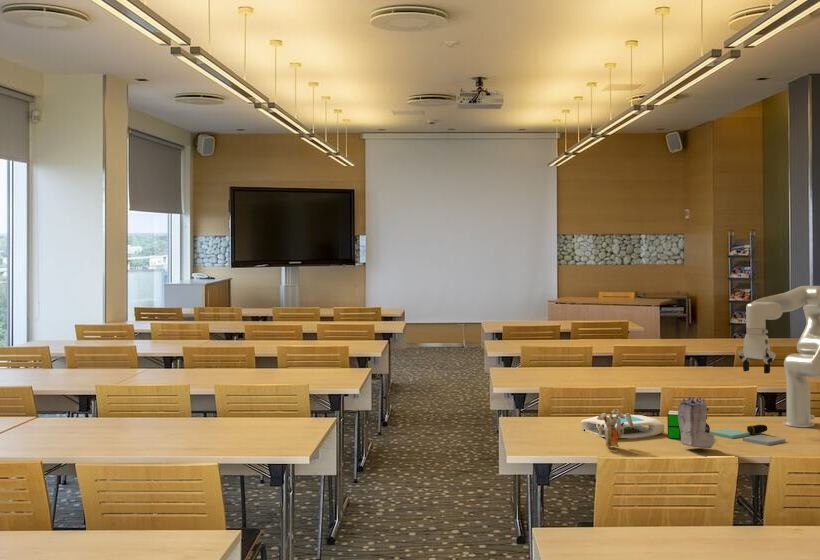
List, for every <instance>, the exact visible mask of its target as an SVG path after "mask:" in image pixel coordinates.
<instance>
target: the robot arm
mask: <svg viewBox="0 0 820 560" xmlns="http://www.w3.org/2000/svg"><path fill="white" fill-rule="evenodd" d="M802 307H803V308H802ZM800 308H802V309H803V313H804V317H805V323H806V324H805V327H804V330H803V332H802V333H801V336H800V337H799V339H798V341H797V343H796V351H797V352H798V353H790V354H788V355H786V356H785V358H784V361H783V367H784V373H785V379H786V380H785V381H786V384H785V385H786V420H783V421H782V424H783V425H785V426H788V427H793V428H813V427H815V423H814V422H812V420H815V418H816V416H815V415H814V414H811V384H810V382H809V380H808V378H809V377H810V378H820V285H801V286H797V287H796V288H793V289H790V290H788V291H786V292H783V293H778V294H773V295H769V296H764V297H761V298H758V299H756V300H753V301H752V302H750V303H747V304H746V306H745V310H746V311H745V313H746V314H745V317H746V322H745V324H746V325H745V326H746V334H745V335H744V339H743V348H741V349H739V350H737V353H736V354H737V355H738V357H739V359H740V360H741V362H742V369H743V372H749V371H750V362H749V360H750V359H753V360H754V359H755V360H762V361H763V363H764V364H763V373H764V374H770V373H771V364H772V363H773V362H774V361H775V358H776V356H777V354H776V353H775V352H774V351H772V350H771V347H770V346H771V345H770V340H769V336H768V335H767V334H768V333H769V331H768V329H767V328H766V320H769V321H770V320H771V321H773V320H778V319H779V318H781V317H782V315H783V313H788V312H793V311H795V310H798V309H800ZM807 377H808V378H807Z"/></svg>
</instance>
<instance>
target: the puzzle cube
mask: <svg viewBox="0 0 820 560" xmlns="http://www.w3.org/2000/svg"><path fill="white" fill-rule="evenodd" d="M667 411H668V412H667V438H668V439H675V440H681V432H680V428H679V422H678V410H667Z"/></svg>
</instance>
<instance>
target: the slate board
mask: <svg viewBox="0 0 820 560" xmlns="http://www.w3.org/2000/svg"><path fill="white" fill-rule="evenodd" d="M742 442H747V443H752V444H759V445H765V446H773V445H777V444H782V443H786V438H783V437H782V438H781V437H776V436H771V435H764V434H756V435H752V436H751V435H750V436H744V437H742Z"/></svg>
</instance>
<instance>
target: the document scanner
mask: <svg viewBox="0 0 820 560" xmlns="http://www.w3.org/2000/svg"><path fill="white" fill-rule="evenodd" d="M612 415H613V417H616V415H617V414H612ZM623 415H624V416H625V419H622V418H620V417H618V418H620V420H621V423H623V422H624V424H625V427H630V428H629V429H632V428H634V429H633V430H635V429H637V430H636V431H638V430H639V432H635V433H624V434H621V438H628V439H638V437H639V438H646V437H647V438H648V437H654V436H657V435H659V434H660V435H661V434H662V433H664V432H665V424H664V423H663V422H661V421H660V420H659V419H657V418H653V417H649V416H645V415H641V414H630V415H631V419H632V423H633V426H630V424H628V422H627V420H626V414H623ZM598 416H599V415H597V416H592V417H590V418H585V419H582V420H581V422H580V423H581V424H580V425H581V426H580V428H581V429H582V428H583V429H585V430H589V431H590V432H593V433H595V434H597V435H599V434H598V428H597V427H598V424H600V425H602V424H604V429H606V424H605V420H598V419H597V418H598ZM607 417H608V418H610V417H609V414H607ZM645 426H648V427H645ZM615 428H616V429H617V423H616V425H615ZM583 429H582V430H583ZM604 429H603V430H604ZM599 436H601V437H605V435H599ZM604 439H606V437H605V438H604Z"/></svg>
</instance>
